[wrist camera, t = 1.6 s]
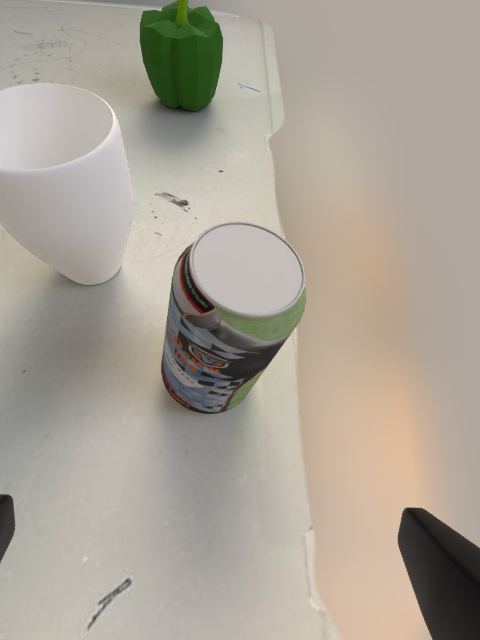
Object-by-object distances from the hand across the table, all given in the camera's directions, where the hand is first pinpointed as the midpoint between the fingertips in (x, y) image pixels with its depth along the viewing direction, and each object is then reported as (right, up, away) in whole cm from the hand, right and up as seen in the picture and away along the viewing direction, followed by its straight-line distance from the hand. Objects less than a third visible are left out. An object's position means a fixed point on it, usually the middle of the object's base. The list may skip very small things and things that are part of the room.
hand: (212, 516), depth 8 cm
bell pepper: (-6, +30, +34) cm, 45 cm away
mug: (-11, +10, +22) cm, 27 cm away
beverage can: (-1, +1, +17) cm, 17 cm away
